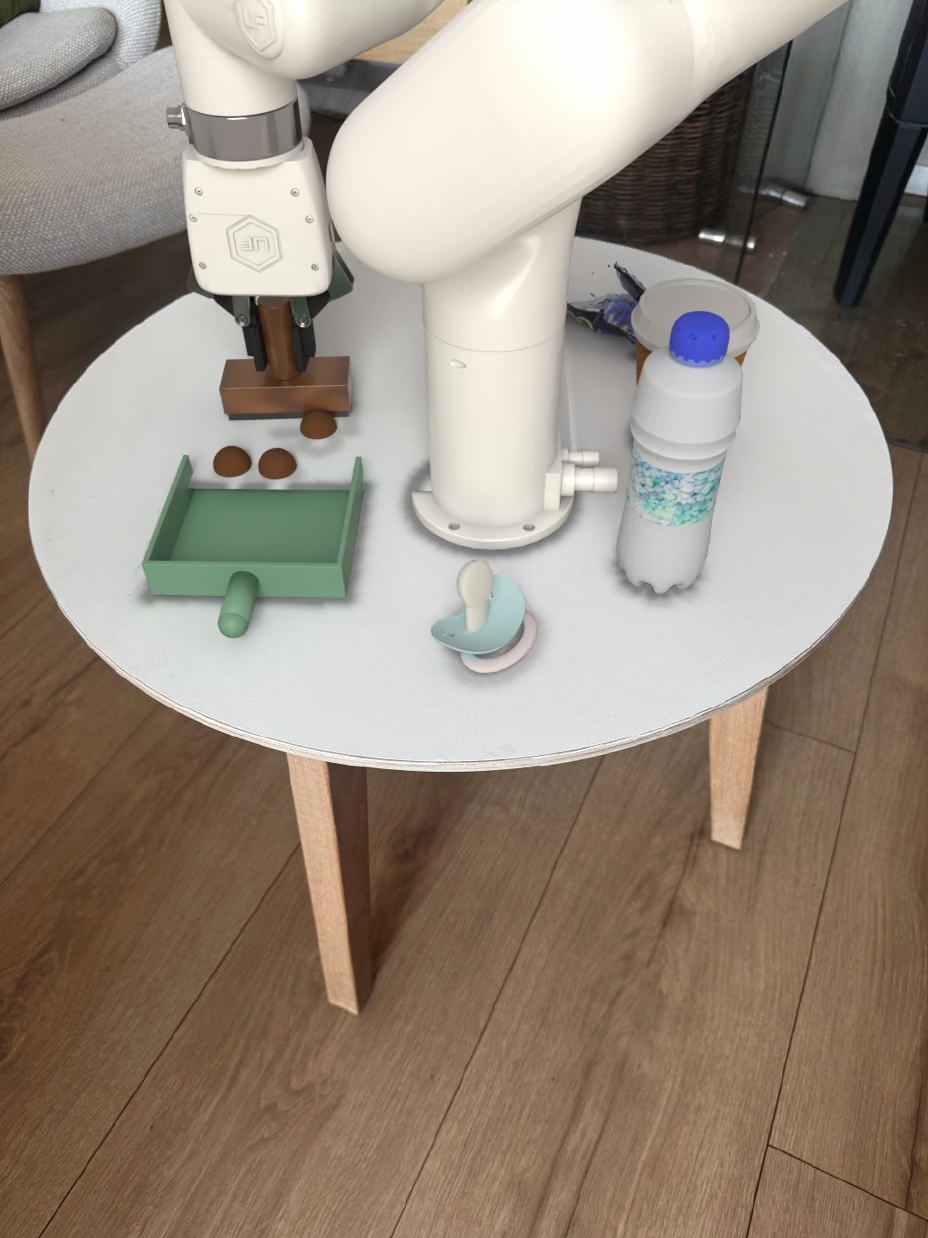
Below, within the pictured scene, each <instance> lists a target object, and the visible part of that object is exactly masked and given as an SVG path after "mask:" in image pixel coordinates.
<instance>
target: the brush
mask: <svg viewBox="0 0 928 1238" xmlns="http://www.w3.org/2000/svg"><path fill="white" fill-rule="evenodd" d="M256 300H257V305H258V309H259V315H260V321H261V326H262V332H263V338H264V343H265V349H266V355H267V360H268V364H267V367H266V370H264V371H263V372H257V371H256V369H255V363H254V358H232V359H231V358H229V359H225V362H224V367H223V371H222V375H221V379H220V384H219V388H218V391H219V396H220V399H221V404H222V410H223V414H224V415H227V416H228V421H230V422H231V421H232V422H233V421H262V420H263V421H264V420H266V421H267V420H292V419H298V420H299V419H303V417H304V416H305V415H306V414H307V413H309V412H310V411H313V410H323V411H326V412H328V413H329V414H330V415H332V417H333V418H350V411H351V409H352V398H353V397H352V396H353V383H354V379H353V369H352V361H351V355H335V356H334V355H333V356H332V355H331V356H315V357H310V358H309V361H308V365H307V368H306V372H298V370H296V368H295V361H294V354H293V348H292V341H291V335H290V328H291V324H292V321H293V315H294V313H293V309H292V304H291V300H290V296H257V298H256Z"/></svg>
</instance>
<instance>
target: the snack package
mask: <svg viewBox="0 0 928 1238" xmlns="http://www.w3.org/2000/svg"><path fill="white" fill-rule="evenodd" d="M610 267H611V265H610V264H608V265H607V268H610ZM613 268H614V270H615V275H616V277H617V278H618V280H619V282H620V286H621V287H622V288H623V290H624V291H625V292H627V293H625V292H623V293H620V294H618V293H608V294H603V295H601V296H596V295H595V294H594V293H592V292H590V293H589V294H590V295H591V296H592V297H594V298H593V299H590V300H587V301H574V302H567V310H566V315H568V316H570V318H573V319H574V320H576V321H578V322H579V323H581V324H583V325H585V327H587V328H588V329H590V330H591V331H594V332H596V333H599V334H604V335H608V336H615V337H620V338H621V337H622V338H625V339H627V340H629V341H630V342H631V343H632V344H635V345H636V336H635V333H634V330H633V327H632V324H631V315H632V312H633V310H634V308H635V307H636V305H638V303H639V300H640V298H641V296H642V294H643V293H644V292H645V291H646V290H647V289H648V288H646V287H645V286H644V284H643V282H642V281H639V279H638V278H637V277H636V276H635V275H634V274H632V273H630V272H629V271H628V269H627V268H626V267H623V266H621V265H619V264H618V261H615V263H613ZM591 274H592V275H594V274H595V273H594V272H591Z"/></svg>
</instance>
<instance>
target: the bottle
mask: <svg viewBox="0 0 928 1238" xmlns="http://www.w3.org/2000/svg"><path fill="white" fill-rule="evenodd" d="M729 339H730V329H729V326H728V324H727V323H726V321H725V320H724V319H723V318H722V317H721V316H719V315H717V314H714V313H711V312H707V311H692V312H688V313H685V314H683V315H681V316H680V317H679V318H678V319H677V320H676V321H675V323H674V325H673V327H672V330H671V335H670V342H669V345H666V346H664V347H661V348H659V349H657V350H655V351H653V352H652V353H651V354H650V355H649V356H648V357H647V358H646V360H645V362H644V364H643V368H642V371H641V375H640V378H639V382H638V385H637V386H636V389H635V393H634V395H633V398H632V401H631V403H630V404H631V405H630V413H631V418H630V421H629V428H630V432H631V435H632V438H633V439H632V447H631V454H630V463H629V469H628V477H627V484H626V493H625V499H624V504H623V505H624V506H623V509H622V514H621V517H620V522H619V527H618V533H617V537H616V538H617V540H616V548H615V552H616V561H617V563H618V566H619V567H620V568H621V569H622V570H623V571H624V572H625V576H626V578H627V581H628V582H629V583H630V584H631V585H632V586H634V587H638V588H639V587H641V586H642V585H643V584H644V583H647V584H649V585H650V586H651V587H652V589H653V593H655V594H657V595H664V594H665V593H667V592H668V590H669V589H670V588H672V586H675V587H676V588H677V589H679V590H684V589H686V588H689V587H690V586H691V585H692V584H693V583H694V582H695V581H696V578H697V577H698V575H699V574H700V572H701V570H702V568H703V567H704V565H705V562H706V559H707V557H708V553H709V546H710V541H711V533H712V525H713V516H714V511H715V506H716V502H717V497H718V492H719V488H720V484H721V479H722V475H723V469H724V466H725V461H726V456H727V452H728V450H729V448H730V447H732V445H733V444H734V442H735V440H736V437H737V429H738V428H739V425H740V423H741V418H742V411H741V410H742V393H743V379H744V374H743V370H742V367H741V366H740V365H739V363H738V361H737V360H735V359H734V358H733V357H732V356H731V355H730V354H728V353H727V349H728V344H729Z"/></svg>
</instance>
